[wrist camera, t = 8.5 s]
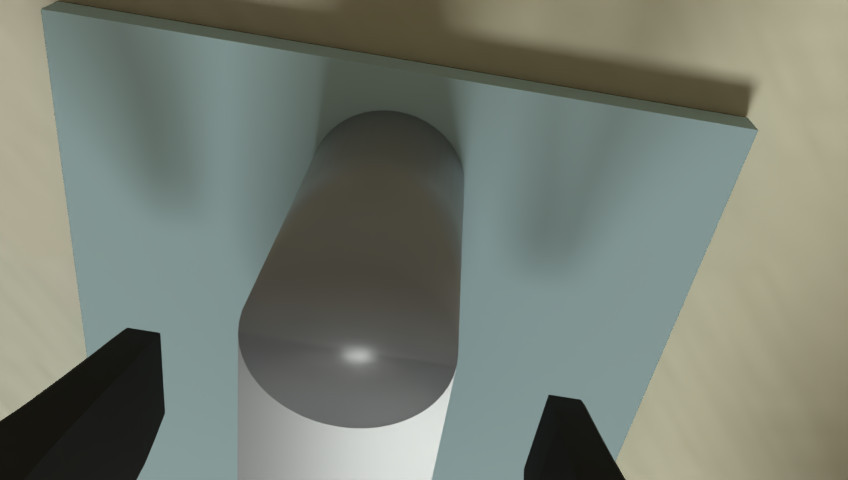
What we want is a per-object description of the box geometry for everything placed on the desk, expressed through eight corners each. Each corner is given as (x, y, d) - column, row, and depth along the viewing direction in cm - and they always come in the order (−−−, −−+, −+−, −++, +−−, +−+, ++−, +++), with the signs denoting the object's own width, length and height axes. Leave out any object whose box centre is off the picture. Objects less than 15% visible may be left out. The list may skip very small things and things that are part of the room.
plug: (476, 123, 13) (476, 276, 9) (402, 505, 19) (380, 709, 15) (316, 98, 13) (238, 239, 9) (291, 489, 19) (236, 688, 15)
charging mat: (747, 117, 13) (758, 130, 13) (569, 542, 20) (572, 561, 20) (57, 1, 13) (41, 8, 13) (114, 472, 20) (104, 489, 19)
